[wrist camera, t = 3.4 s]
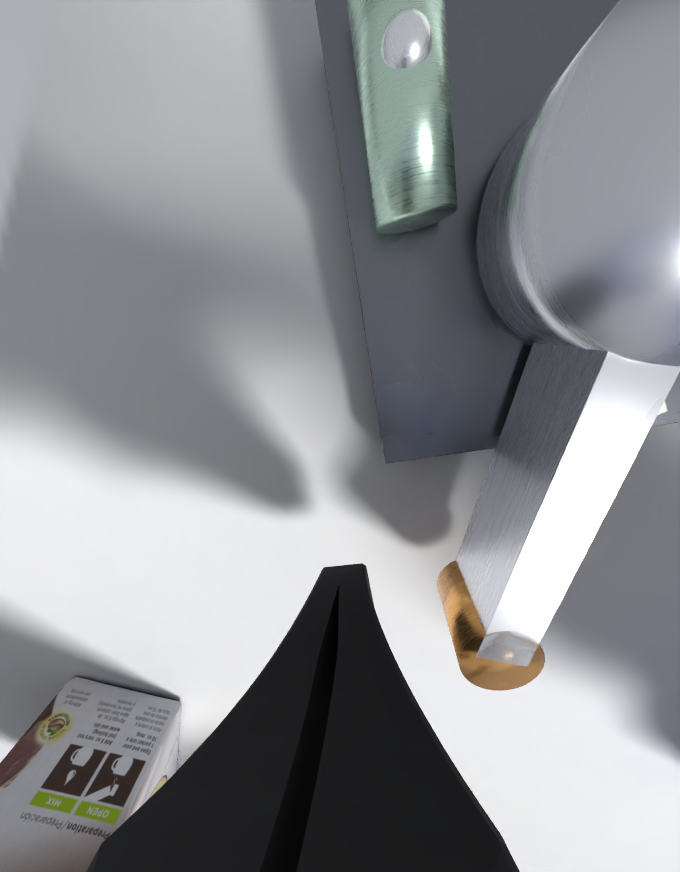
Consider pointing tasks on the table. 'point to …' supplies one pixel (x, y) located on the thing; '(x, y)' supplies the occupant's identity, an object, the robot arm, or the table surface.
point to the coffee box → (83, 774)
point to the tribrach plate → (441, 270)
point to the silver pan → (573, 329)
